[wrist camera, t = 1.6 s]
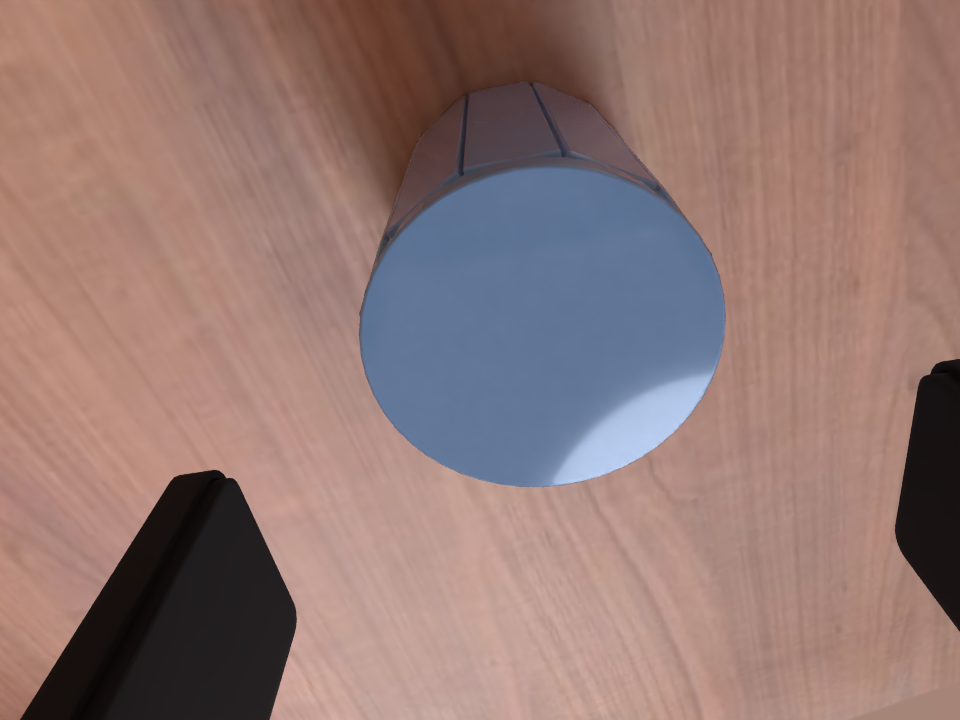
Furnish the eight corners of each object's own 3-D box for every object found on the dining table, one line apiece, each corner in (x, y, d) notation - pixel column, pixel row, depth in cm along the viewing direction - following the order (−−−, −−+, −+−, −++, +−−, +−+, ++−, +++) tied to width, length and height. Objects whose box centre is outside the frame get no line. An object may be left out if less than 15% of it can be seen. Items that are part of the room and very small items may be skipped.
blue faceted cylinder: (379, 109, 19) (310, 205, 11) (621, 61, 18) (728, 127, 10) (432, 320, 22) (407, 508, 14) (637, 286, 21) (726, 463, 14)
